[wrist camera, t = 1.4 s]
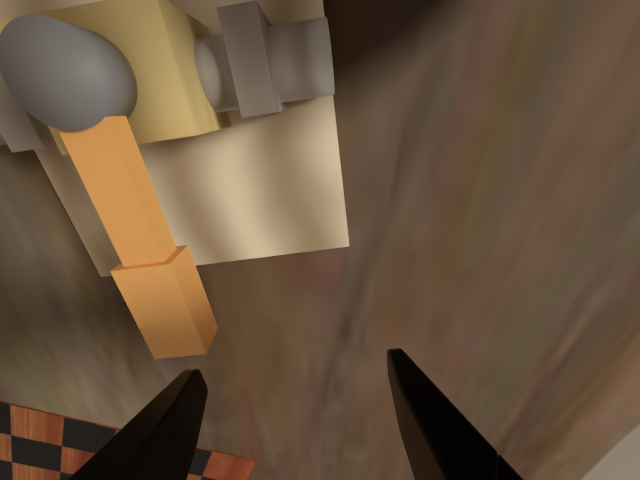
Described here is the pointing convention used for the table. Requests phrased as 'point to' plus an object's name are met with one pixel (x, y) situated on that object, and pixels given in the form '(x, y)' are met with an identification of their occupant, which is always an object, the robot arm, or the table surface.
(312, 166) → the valve plank
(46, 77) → the valve lever
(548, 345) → the table surface
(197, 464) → the chessboard
